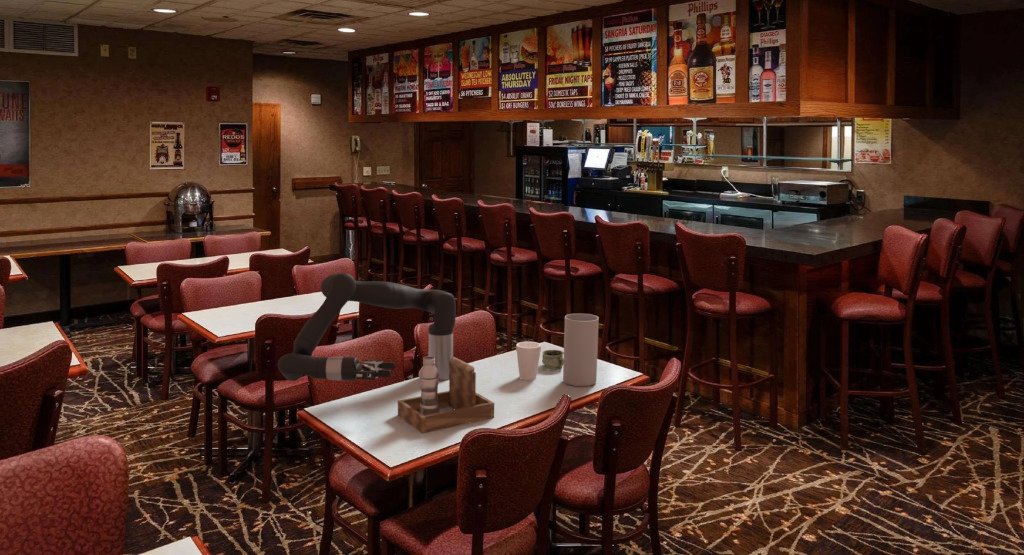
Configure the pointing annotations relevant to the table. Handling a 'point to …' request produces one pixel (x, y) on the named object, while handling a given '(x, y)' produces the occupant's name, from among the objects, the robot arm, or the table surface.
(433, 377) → the plastic bottle
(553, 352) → the vessel
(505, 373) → the table surface
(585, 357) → the cylinder vase
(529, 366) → the foam cup
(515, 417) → the table surface
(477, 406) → the wooden box
